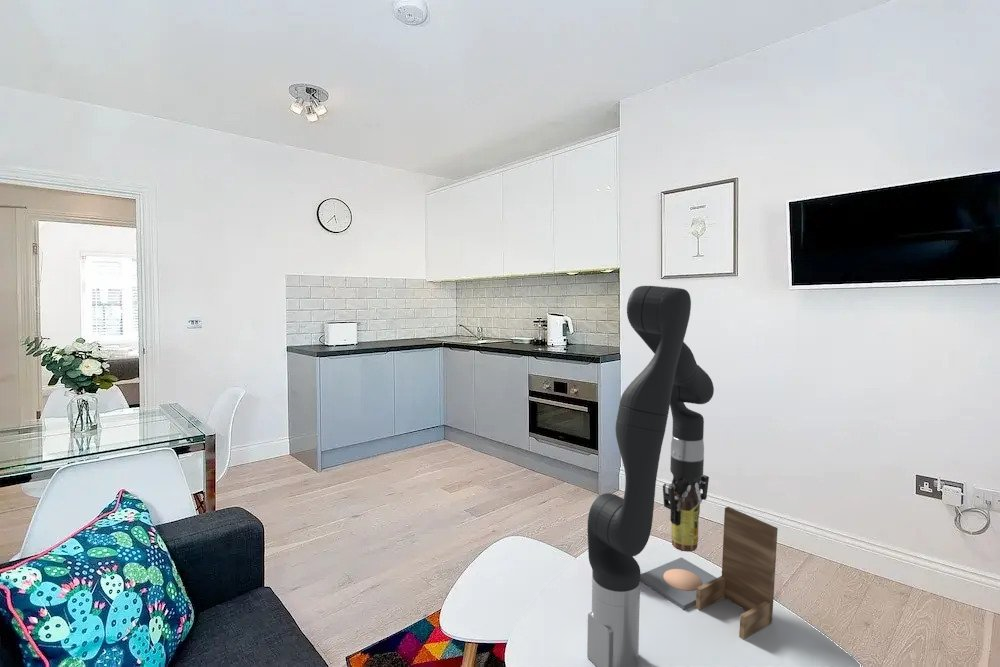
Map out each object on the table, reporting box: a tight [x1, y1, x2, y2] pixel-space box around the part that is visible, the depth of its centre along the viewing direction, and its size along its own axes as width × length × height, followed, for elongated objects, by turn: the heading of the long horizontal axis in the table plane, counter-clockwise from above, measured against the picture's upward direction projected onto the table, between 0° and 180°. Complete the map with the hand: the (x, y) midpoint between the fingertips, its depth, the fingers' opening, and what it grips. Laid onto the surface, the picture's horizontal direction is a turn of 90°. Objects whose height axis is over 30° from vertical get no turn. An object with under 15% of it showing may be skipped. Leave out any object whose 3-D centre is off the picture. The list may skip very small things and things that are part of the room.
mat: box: [640, 557, 717, 610], centre depth 126 cm, size 16×14×1 cm
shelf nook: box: [695, 506, 779, 640], centre depth 113 cm, size 10×12×22 cm
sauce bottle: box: [670, 479, 700, 553], centre depth 124 cm, size 7×6×20 cm
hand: (685, 520), depth 125 cm, fingers closed on sauce bottle, 6 cm apart
